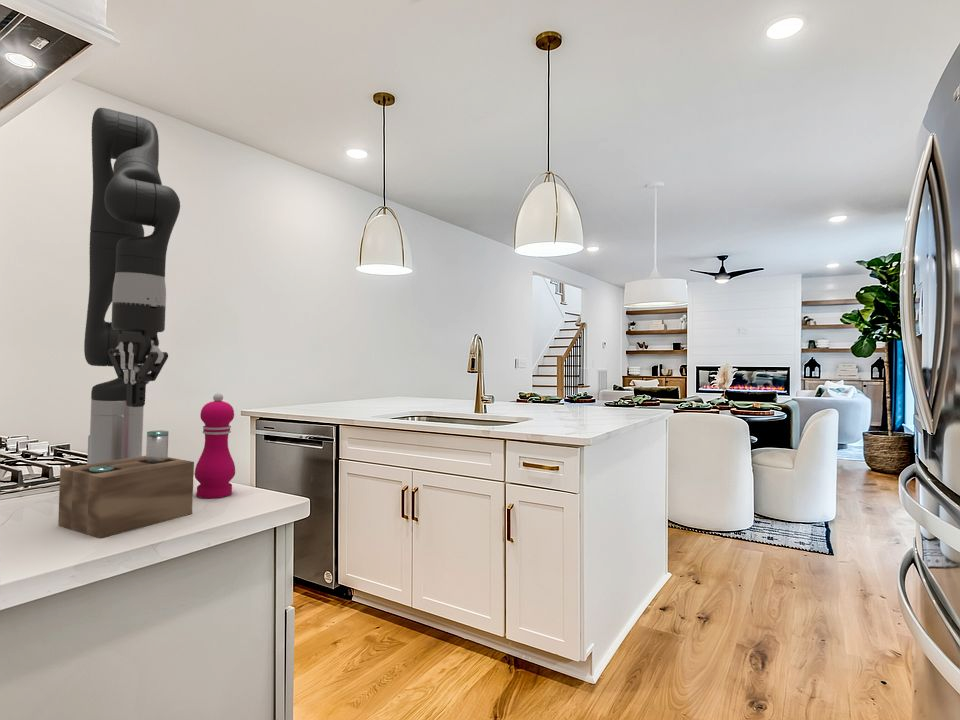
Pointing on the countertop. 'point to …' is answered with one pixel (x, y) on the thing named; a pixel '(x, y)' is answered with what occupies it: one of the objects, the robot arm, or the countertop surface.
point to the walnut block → (124, 495)
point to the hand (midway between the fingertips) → (135, 406)
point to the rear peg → (157, 447)
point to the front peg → (101, 469)
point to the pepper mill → (215, 450)
